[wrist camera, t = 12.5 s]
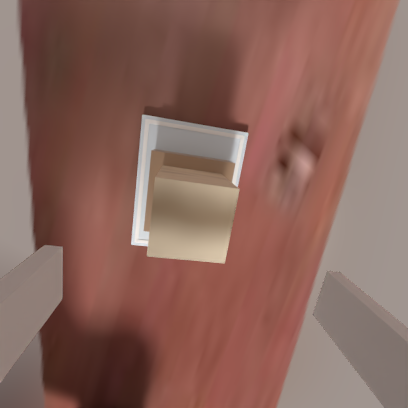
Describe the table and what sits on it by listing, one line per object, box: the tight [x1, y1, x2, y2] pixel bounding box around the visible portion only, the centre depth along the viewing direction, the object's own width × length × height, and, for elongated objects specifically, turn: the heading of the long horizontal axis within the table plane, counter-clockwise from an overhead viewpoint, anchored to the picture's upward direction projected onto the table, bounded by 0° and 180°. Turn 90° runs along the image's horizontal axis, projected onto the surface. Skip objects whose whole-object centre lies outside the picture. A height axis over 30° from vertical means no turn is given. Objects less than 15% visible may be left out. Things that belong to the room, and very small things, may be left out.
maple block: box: [147, 165, 240, 263], centre depth 24 cm, size 7×7×9 cm
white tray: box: [131, 114, 248, 246], centre depth 31 cm, size 18×14×5 cm
